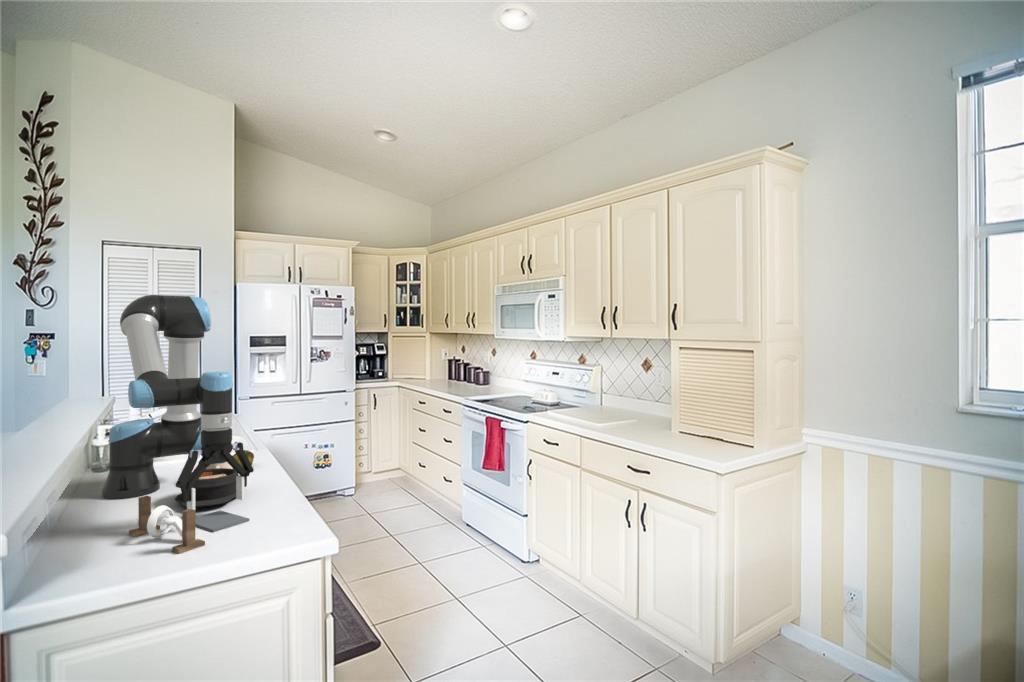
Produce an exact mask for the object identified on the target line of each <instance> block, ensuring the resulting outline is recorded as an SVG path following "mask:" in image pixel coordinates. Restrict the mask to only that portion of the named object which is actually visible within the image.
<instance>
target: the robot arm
mask: <svg viewBox="0 0 1024 682" xmlns="http://www.w3.org/2000/svg"><path fill="white" fill-rule="evenodd" d="M209 307H210V306H209V305H208V302H207V301H206V300H205V299H204V298H202V297H198V296H191V295H165V294H161V295H159V294H147V295H143V296H141V297H138V298H136V299H134V300H133V301H132V302H130V303H129V304H128V305H127V306H126V307H125V308H124V309H123V311H122V313H121V316H120V320H119V325H120V329H121V332H122V334H123V335H124V336H126V340H127V344H128V345H127V346H128V350H129V355H130V360H131V366H132V371H133V376H134V380H131V381H130V382H129V383H128V390H127V391H128V392H127V395H128V396H127V397H128V404H129V407H131V408H132V409H151V408H164V407H166V411H165V412H164V413H163V414H162V415H161V417H160V418H161V419H160V421H157V422H155V421H154V419H153V418H139V419H133V420H129V421H124V422H120V423H118V424H114V425H112V426H111V428H110V429H109V436H108V443H109V446H108V447H109V450H108V451H109V454H108V455H109V456H108V457H109V458H108V459H109V460H108V461H109V462H108V464H109V465H108V468H109V469H108V475H107V477H106V479H105V483H104V485H103V487H102V491H101V493H102V495H101V496H102V498H103V499H105V500H111V501H113V500H114V501H115V500H116V501H117V500H118V501H119V500H128V499H129V500H130V499H134V498H135V499H136V498H139V497H144V496H149V495H152V494H154V493H155V492H157V491H159V490H160V488H161V486H160V485H161V484H160V483H161V482H160V480H159V478H158V475H157V473H156V470H155V467H154V459H157V458H166V457H174V456H180V455H187V458H186V459H187V460H186V462H185V464H184V466H183V468H182V470H181V472H180V475H179V476H178V479H177V481H176V483H175V488H179V489H180V490H181V489H183V490H184V501H186V502H187V507H186V510H188V509H193V510H195V511H196V507H195V488H192V487H193V486H194V484H195V483H196V482H197V480H198V479H199V478H200V476H201V475H202V473H203V472H204V471H205V469H206V468H207V467H208V466H209V465H210V464H215V463H218V462H224V461H226V462H227V463H228V464H229V465H230V466H231V467H232V468H233V469H234V470H235V471H236V472H237V473H238V475H239V476H236V497H235V498H236V500H239V501H244V500H245V488H246V487H247V485H248V477H249V476H250V474H251V473H253V472H254V467H253V464H252V465H251V463H250V461H249V459H248V458H247V456H246V454H245V452H244V450H245V449H244V443H243V442H239V441H235V442H234V443H232V440H233V429H232V428H231V427H232V426H233V386H234V383H233V378H232V377H233V376H232V374H231V372H228V371H207V372H203V373H202V374H201V376H200V377H198V376H199V375H198V373H199V352H200V351H199V349H200V347H199V346H200V341H202V340H203V339H204V338H205V333H208V332H210V331H211V327H212V318H211V313H210V308H209ZM157 332H163V337H164V338H165V339H166V340H167V342H168V361H167V368H166V364H165V361H164V356H163V352H162V348H161V344H160V339H159V337H158V333H157ZM198 405H200V411H198V410H197V406H198ZM232 451H234V452H235V453H234V454H237V456H238V458H239V460H240V462H241V464H242V466H243V467H242V466H241V465H240V464H239V463H238V462H237V461H236V460H235V459H234V457H233V454H231V452H232ZM200 456H201V458H200ZM199 458H200V460H199V461H198V459H199ZM205 461H206V462H205ZM197 462H198V464H197ZM196 464H197V465H196ZM195 466H196V467H195Z"/></svg>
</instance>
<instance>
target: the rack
mask: <svg viewBox="0 0 1024 682" xmlns="http://www.w3.org/2000/svg"><path fill="white" fill-rule="evenodd" d="M151 513H152V497H151V496H149V495H145V496H141V497H138V527H137V528H134V529H130V530H129V529H128V535H129V536H132V537H137V536H138V537H139V536H142V535H145V534H149V533H148V531H147V522H148V519H149V517H150V515H151ZM195 517H196V509H195V510H193V509H188V510H187V509H185V510H182V511H181V520H182V537H181V542H182V543H179V544H177V545H174V546H171V551H172V553H176V554H179V555H180V554H184V553H186V552H188V551H192V550H195V549H198V548H200V547H204V546H206V541H205V540H203V539H200V538H196V526H195ZM156 530H157V531H159V530H161V525H160V524H157V523H156Z"/></svg>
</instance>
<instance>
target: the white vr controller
mask: <svg viewBox="0 0 1024 682" xmlns="http://www.w3.org/2000/svg"><path fill="white" fill-rule="evenodd" d="M164 511H168V515H165V517H162V519H161V524H162V525H166V527H165V529H164V530H163V531H162V532H159V530H156V524H157V521H158V519H159V517H160V515H161V514H162V513H163V512H164ZM172 526H173V527H174V528H175V531H177V533H178V534H179V535H180V537H181V538H182V518H181V517H179V516H177V515H175V513H174V511H173V510H172V508H170V507H169V506H167V505H165V504H162V505H159V506H157V507H155V509H154V510H152V511H151V515H150V517H149V519H148V522H147V531H148V533H147V534H148V535H149V536H150V537H151V538H159V537H162V536H164V535H166V534H167V533H168V532H169V531H170V530H171V529H172Z"/></svg>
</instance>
